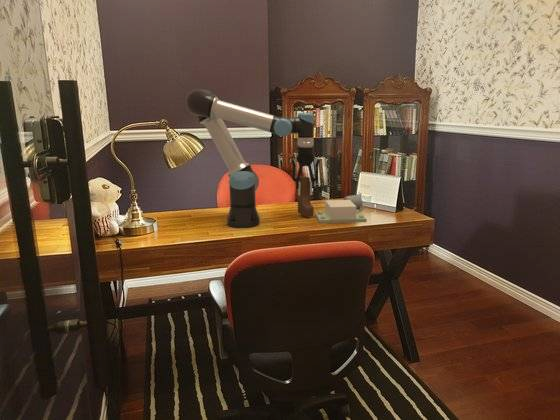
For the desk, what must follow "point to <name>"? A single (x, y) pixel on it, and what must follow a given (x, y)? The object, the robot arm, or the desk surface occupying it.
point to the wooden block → (305, 198)
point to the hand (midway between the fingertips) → (304, 194)
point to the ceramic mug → (355, 201)
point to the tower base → (326, 220)
